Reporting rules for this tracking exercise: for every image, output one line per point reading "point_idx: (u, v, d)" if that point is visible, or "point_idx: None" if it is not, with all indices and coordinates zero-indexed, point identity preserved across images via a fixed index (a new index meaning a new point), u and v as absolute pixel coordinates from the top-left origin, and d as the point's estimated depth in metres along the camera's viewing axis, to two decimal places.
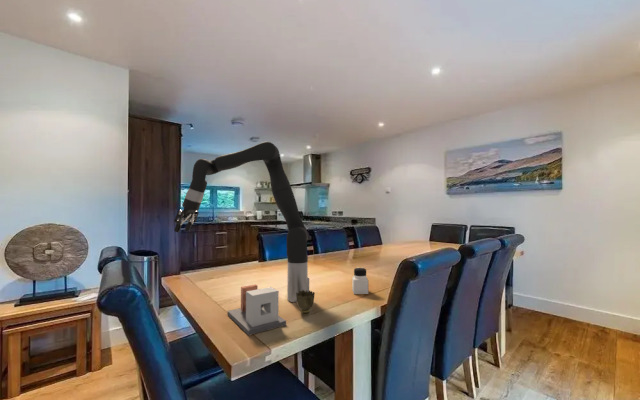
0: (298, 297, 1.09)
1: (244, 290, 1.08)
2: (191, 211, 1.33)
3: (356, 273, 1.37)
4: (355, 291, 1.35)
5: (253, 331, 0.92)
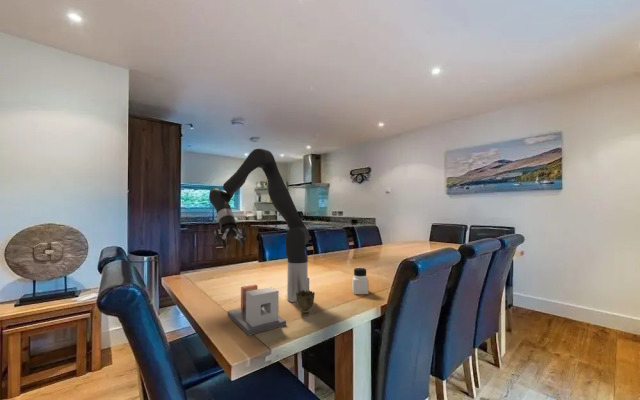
0: (298, 297, 1.09)
1: (244, 290, 1.08)
2: (229, 227, 1.31)
3: (356, 273, 1.37)
4: (355, 291, 1.35)
5: (253, 331, 0.92)
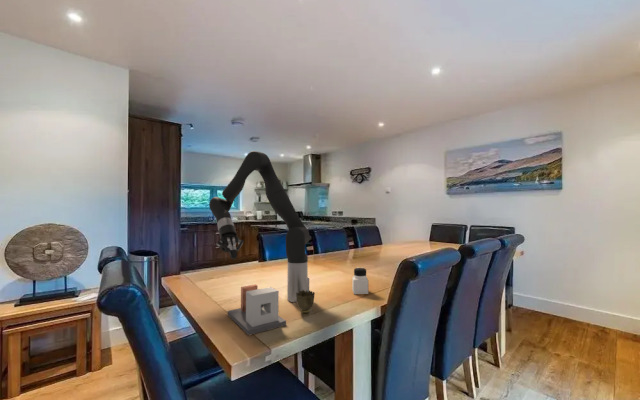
0: (298, 297, 1.09)
1: (244, 290, 1.08)
2: (229, 236, 1.31)
3: (356, 273, 1.37)
4: (355, 291, 1.35)
5: (253, 331, 0.92)
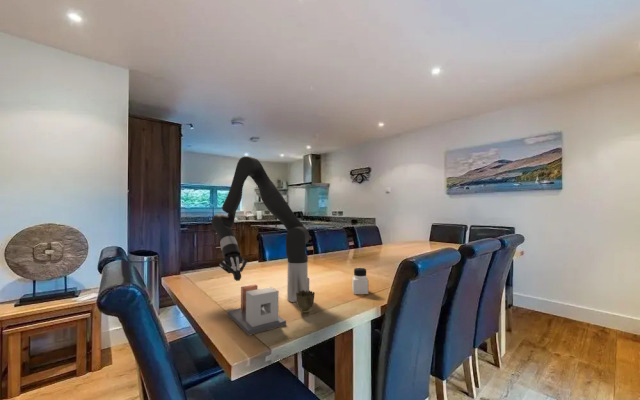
0: (298, 297, 1.09)
1: (244, 290, 1.08)
2: (233, 256, 1.26)
3: (356, 273, 1.37)
4: (355, 291, 1.35)
5: (253, 331, 0.92)
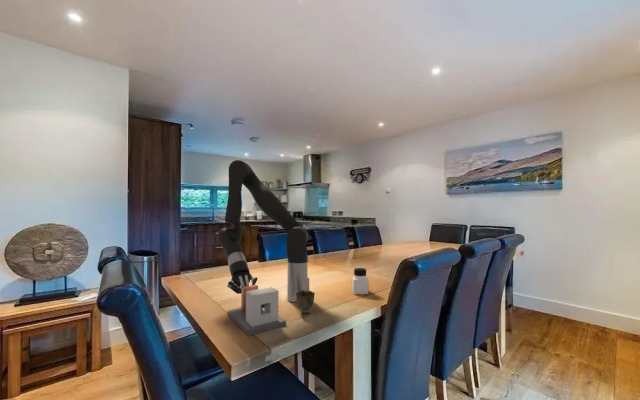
0: (298, 297, 1.09)
1: (245, 290, 1.07)
2: (242, 274, 1.17)
3: (356, 273, 1.37)
4: (355, 291, 1.35)
5: (253, 331, 0.92)
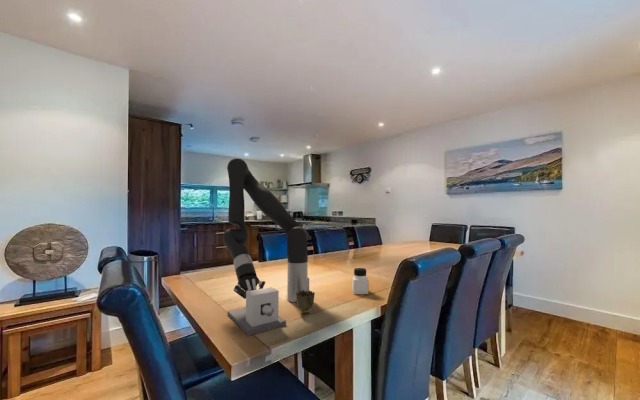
0: (298, 297, 1.09)
1: None
2: (248, 278, 1.11)
3: (356, 273, 1.37)
4: (355, 291, 1.35)
5: (253, 331, 0.92)
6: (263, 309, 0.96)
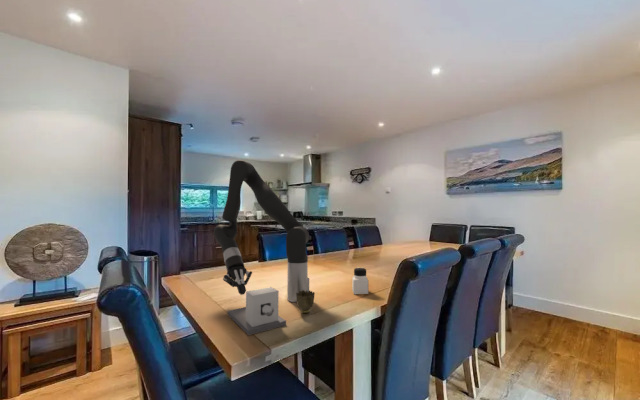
0: (298, 297, 1.09)
1: None
2: (237, 268, 1.22)
3: (356, 273, 1.37)
4: (355, 291, 1.35)
5: (253, 331, 0.92)
6: (263, 309, 0.96)
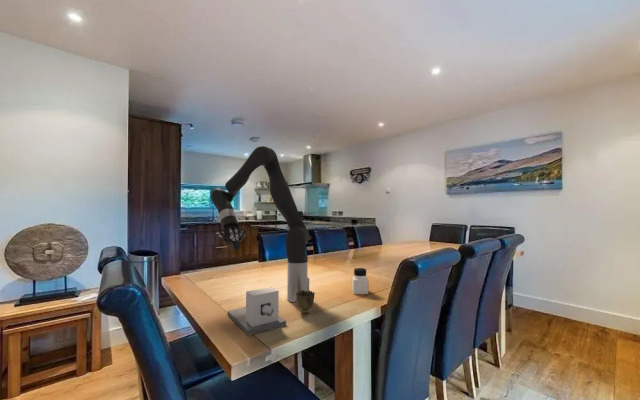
0: (298, 297, 1.09)
1: None
2: (232, 227, 1.28)
3: (356, 273, 1.37)
4: (355, 291, 1.35)
5: (253, 331, 0.92)
6: (263, 309, 0.96)
